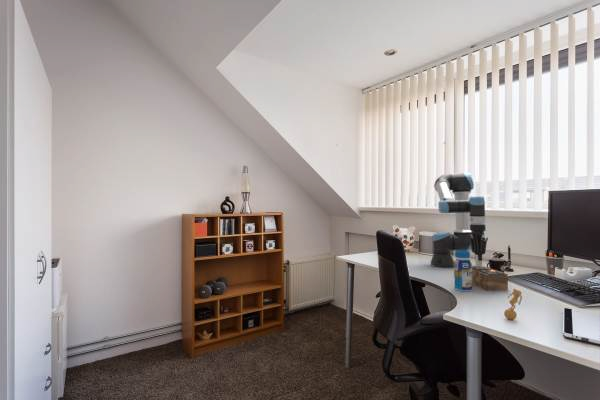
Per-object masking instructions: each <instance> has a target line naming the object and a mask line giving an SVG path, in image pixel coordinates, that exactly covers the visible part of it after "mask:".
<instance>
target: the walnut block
mask: <svg viewBox="0 0 600 400" xmlns="http://www.w3.org/2000/svg"><path fill="white" fill-rule="evenodd" d="M475 266H476V265H472V266H471V268H472V286H475V287H478V288H480V289H482V290H485V291H489V292H493V291H507V290H509V282H508V281H509V279H508V276H509V275H508V273H506V272H504V273H503V272H500V271H497V270H496V273H489V272H487V270H493V269H490V267H489V268H487V266H483V268H482V269H477V268H475Z"/></svg>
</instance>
